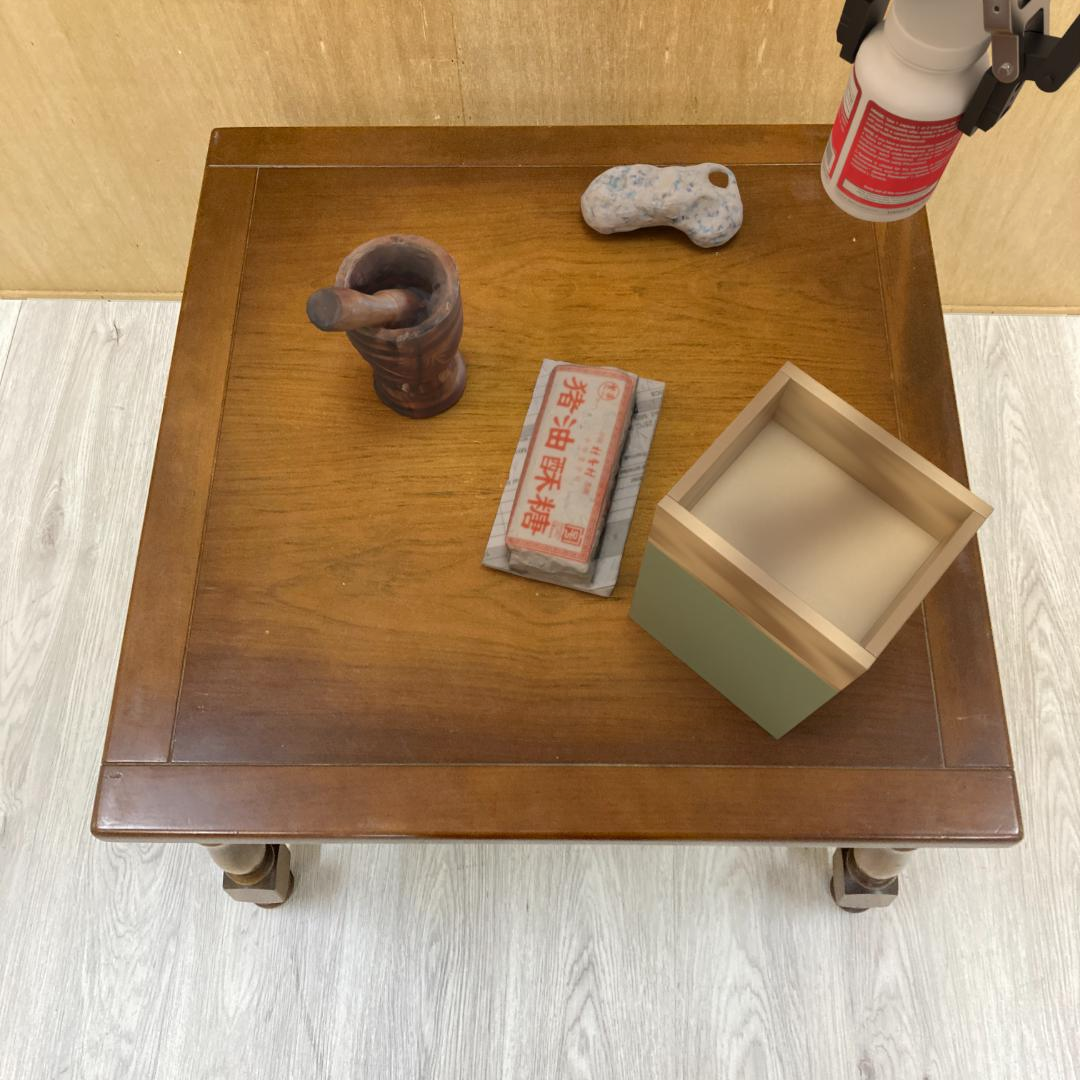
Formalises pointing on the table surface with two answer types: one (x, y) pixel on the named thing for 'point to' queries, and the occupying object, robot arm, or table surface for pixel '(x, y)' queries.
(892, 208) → the pill bottle
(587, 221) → the decorative stone
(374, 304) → the mortar and pestle
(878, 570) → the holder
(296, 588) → the table surface
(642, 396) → the packaged product
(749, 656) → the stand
